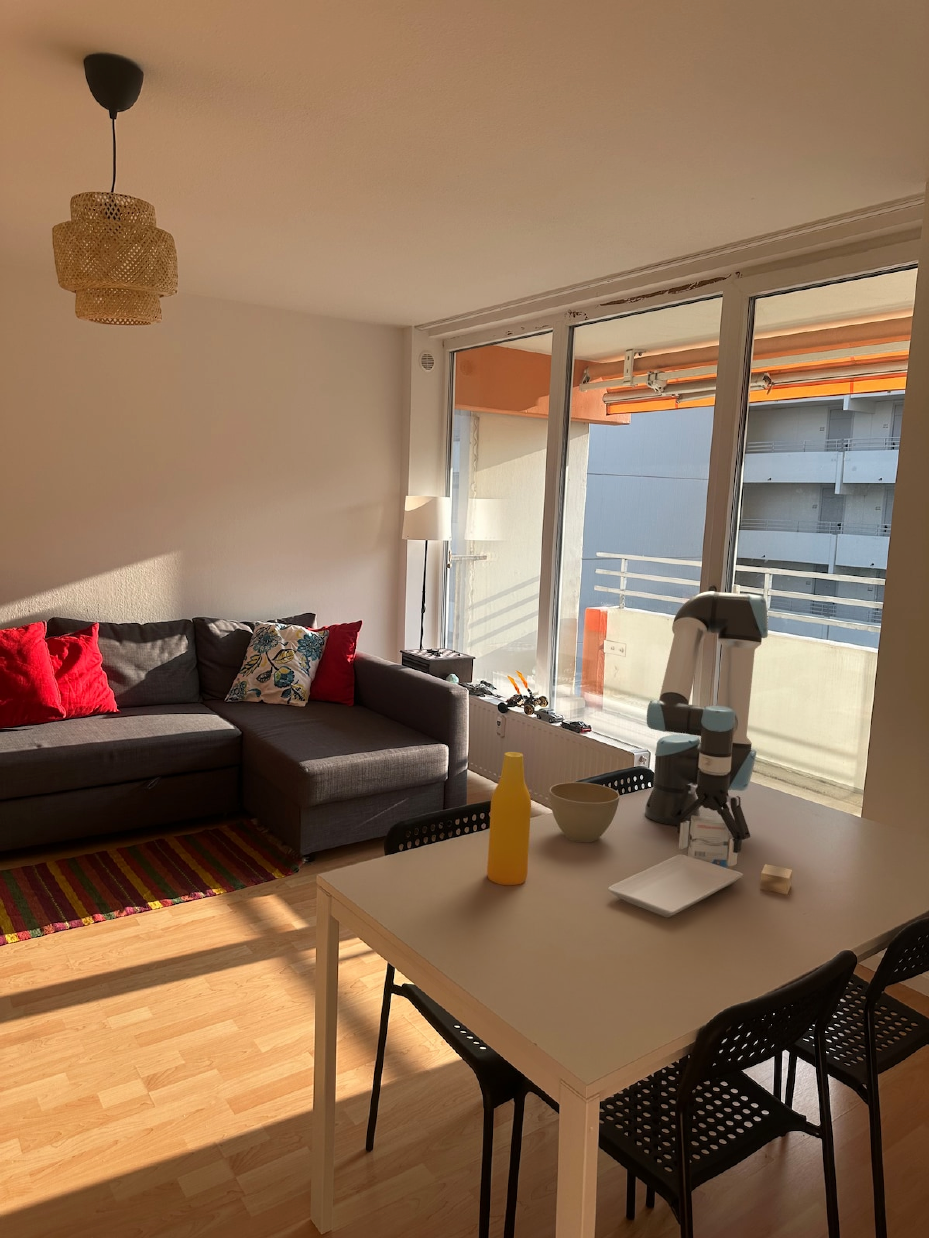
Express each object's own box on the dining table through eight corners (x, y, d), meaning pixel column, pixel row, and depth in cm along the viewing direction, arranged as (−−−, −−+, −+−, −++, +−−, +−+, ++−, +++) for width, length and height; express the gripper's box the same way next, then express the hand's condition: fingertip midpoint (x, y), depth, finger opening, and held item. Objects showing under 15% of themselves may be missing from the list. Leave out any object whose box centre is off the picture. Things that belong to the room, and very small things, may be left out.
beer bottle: (535, 878, 204) (542, 755, 200) (509, 889, 197) (516, 762, 194) (504, 866, 210) (511, 746, 207) (478, 876, 203) (484, 753, 200)
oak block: (759, 889, 204) (761, 872, 204) (763, 880, 210) (765, 864, 209) (787, 895, 202) (788, 878, 201) (790, 886, 207) (792, 869, 207)
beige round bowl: (626, 835, 235) (630, 790, 234) (599, 855, 220) (602, 807, 219) (565, 820, 245) (568, 777, 243) (534, 838, 229) (537, 792, 228)
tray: (604, 901, 194) (605, 885, 194) (679, 865, 217) (680, 851, 216) (672, 928, 183) (673, 912, 182) (743, 887, 205) (745, 873, 205)
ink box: (722, 863, 219) (726, 817, 217) (726, 871, 214) (730, 823, 212) (686, 860, 219) (690, 814, 218) (690, 868, 215) (693, 820, 213)
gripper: (661, 761, 220) (655, 843, 223) (753, 786, 202) (745, 875, 205) (678, 757, 226) (672, 837, 228) (769, 781, 207) (762, 868, 210)
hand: (707, 856), depth 216 cm, fingers open, 13 cm apart
